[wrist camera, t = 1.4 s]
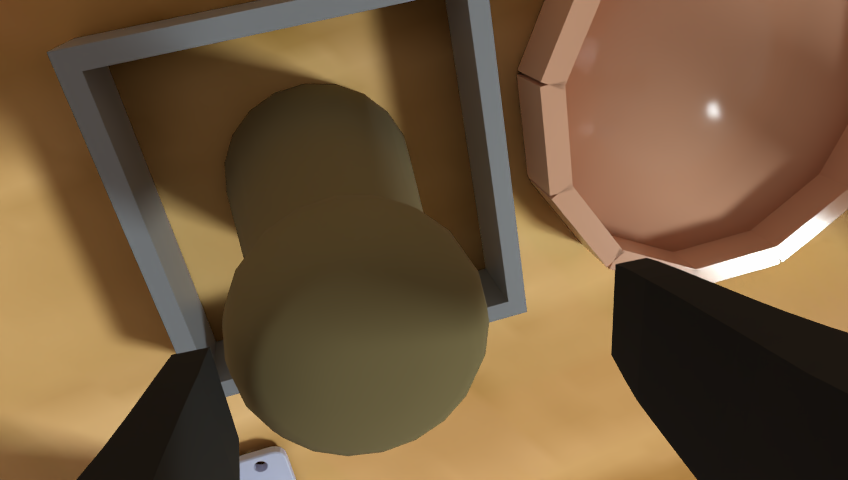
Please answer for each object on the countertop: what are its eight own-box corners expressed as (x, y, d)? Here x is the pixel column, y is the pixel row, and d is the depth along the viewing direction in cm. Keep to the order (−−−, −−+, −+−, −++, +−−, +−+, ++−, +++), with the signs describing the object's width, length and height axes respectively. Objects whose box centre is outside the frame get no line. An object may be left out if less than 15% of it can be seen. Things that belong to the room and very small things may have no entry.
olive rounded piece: (203, 98, 19) (144, 256, 10) (400, 70, 20) (530, 188, 10) (246, 274, 22) (235, 540, 12) (419, 242, 23) (536, 464, 13)
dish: (540, 299, 25) (562, 326, 23) (497, -103, 19) (522, -107, 17) (855, 210, 27) (898, 229, 25) (912, -184, 21) (973, -196, 19)
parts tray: (204, 359, 23) (198, 404, 21) (73, 38, 18) (46, 52, 16) (502, 277, 24) (526, 311, 22) (458, -42, 19) (484, -39, 17)
